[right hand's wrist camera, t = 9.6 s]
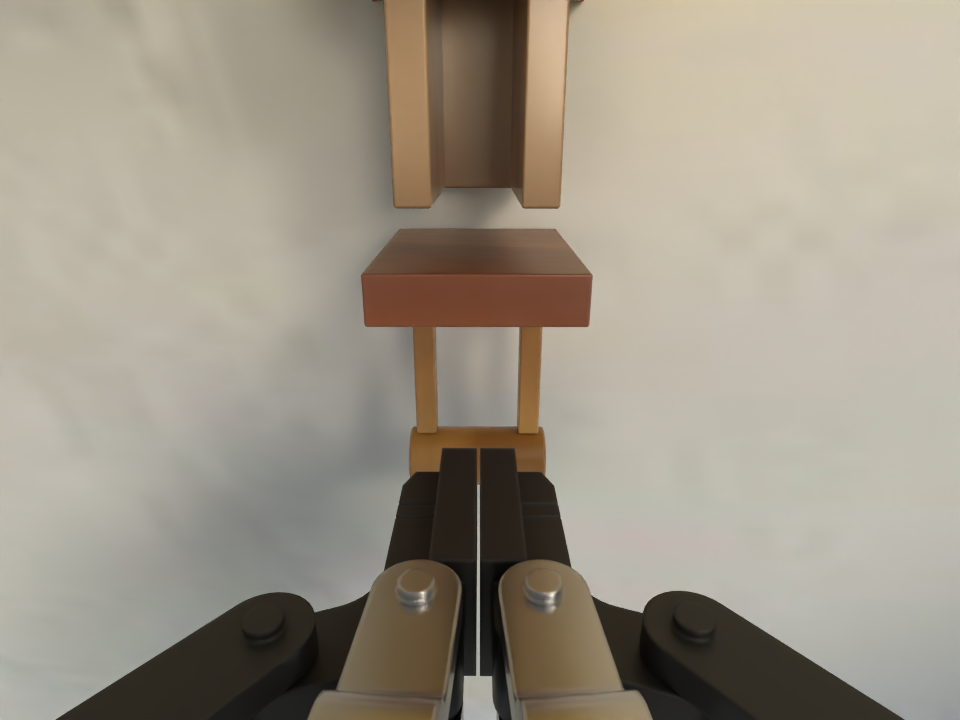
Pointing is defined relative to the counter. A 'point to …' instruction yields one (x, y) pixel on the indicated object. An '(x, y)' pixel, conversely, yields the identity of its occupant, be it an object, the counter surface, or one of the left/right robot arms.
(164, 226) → the counter surface
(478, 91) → the drawer
